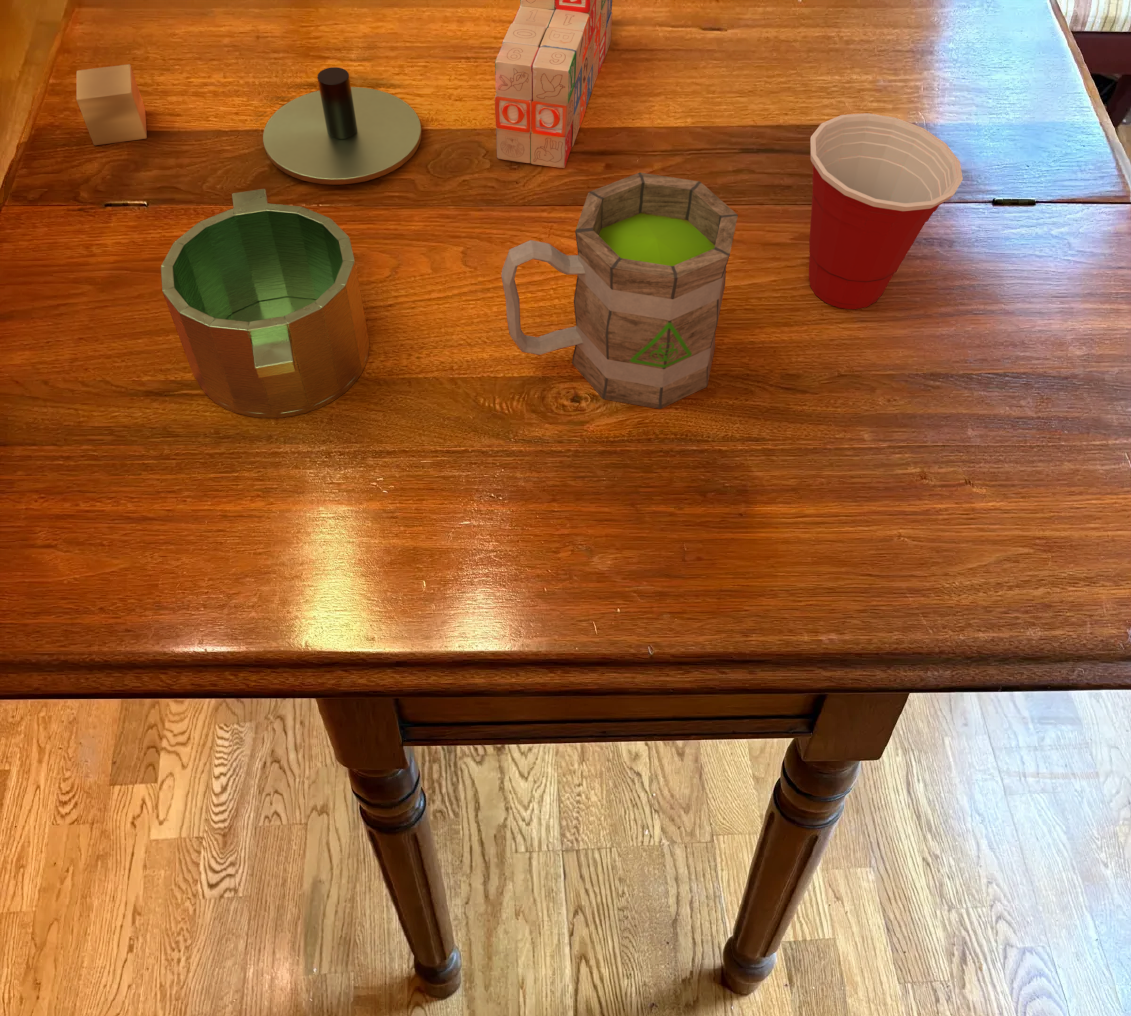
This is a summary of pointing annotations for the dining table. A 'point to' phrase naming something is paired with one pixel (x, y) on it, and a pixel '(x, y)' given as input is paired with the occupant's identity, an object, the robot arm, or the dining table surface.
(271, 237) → the pot
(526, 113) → the stack of blocks
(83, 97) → the block
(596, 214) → the mug
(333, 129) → the lid
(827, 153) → the plastic cup
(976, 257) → the dining table surface
